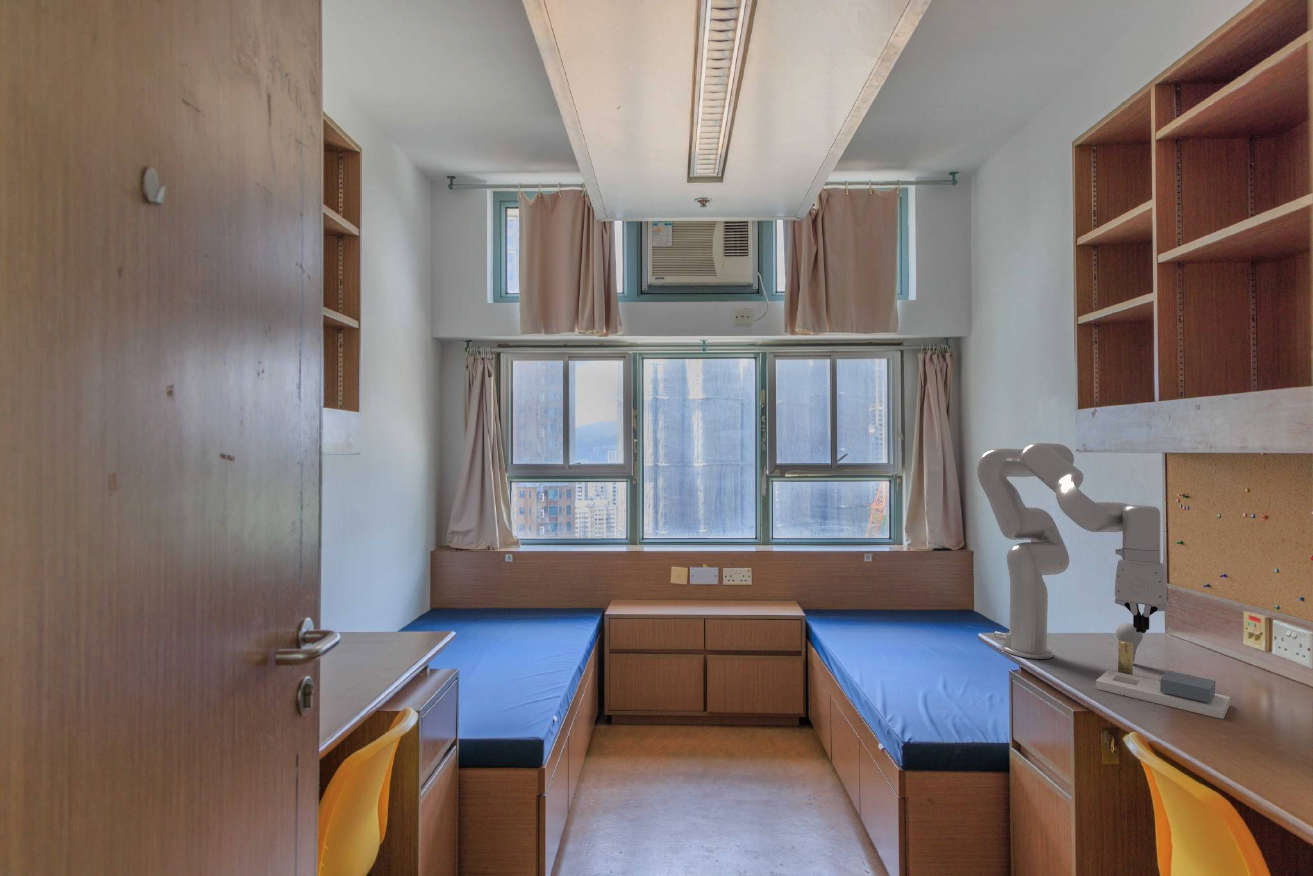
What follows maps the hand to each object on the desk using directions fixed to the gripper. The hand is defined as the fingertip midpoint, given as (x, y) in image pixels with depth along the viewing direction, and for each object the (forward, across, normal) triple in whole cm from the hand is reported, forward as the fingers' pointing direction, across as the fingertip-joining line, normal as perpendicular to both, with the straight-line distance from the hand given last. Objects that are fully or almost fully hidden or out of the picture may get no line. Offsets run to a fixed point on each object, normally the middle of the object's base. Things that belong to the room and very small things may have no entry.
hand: (1141, 631), depth 163 cm
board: (+15, +4, 0) cm, 15 cm away
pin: (+14, -5, +10) cm, 19 cm away
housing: (+13, +9, 0) cm, 16 cm away
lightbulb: (+15, -7, +25) cm, 30 cm away
